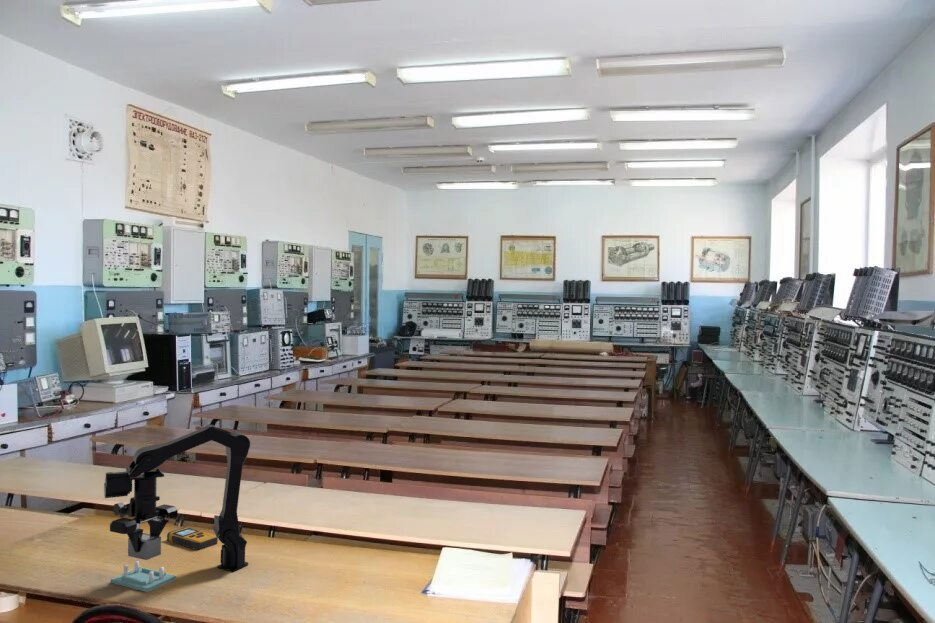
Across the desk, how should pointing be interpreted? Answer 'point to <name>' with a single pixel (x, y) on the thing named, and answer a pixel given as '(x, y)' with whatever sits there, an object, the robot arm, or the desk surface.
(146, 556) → the block
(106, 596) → the desk surface
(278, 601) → the desk surface
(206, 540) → the electronic device
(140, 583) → the teal fixture plate
